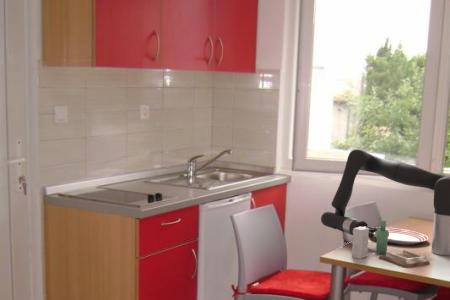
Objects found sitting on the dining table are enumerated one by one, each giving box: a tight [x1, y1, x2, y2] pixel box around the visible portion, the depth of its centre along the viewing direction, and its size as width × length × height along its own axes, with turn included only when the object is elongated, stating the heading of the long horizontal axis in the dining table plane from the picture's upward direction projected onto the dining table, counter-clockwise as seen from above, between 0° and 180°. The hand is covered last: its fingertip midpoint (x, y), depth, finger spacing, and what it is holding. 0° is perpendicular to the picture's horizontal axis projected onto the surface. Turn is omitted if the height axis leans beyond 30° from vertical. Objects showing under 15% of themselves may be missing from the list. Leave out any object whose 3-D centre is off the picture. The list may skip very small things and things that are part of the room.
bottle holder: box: [378, 249, 431, 268], centre depth 243 cm, size 14×14×3 cm
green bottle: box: [375, 219, 388, 256], centre depth 254 cm, size 4×4×14 cm
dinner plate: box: [374, 226, 429, 246], centre depth 281 cm, size 28×27×3 cm
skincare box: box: [351, 227, 369, 260], centre depth 246 cm, size 6×4×12 cm
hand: (380, 235), depth 255 cm, fingers open, 8 cm apart
